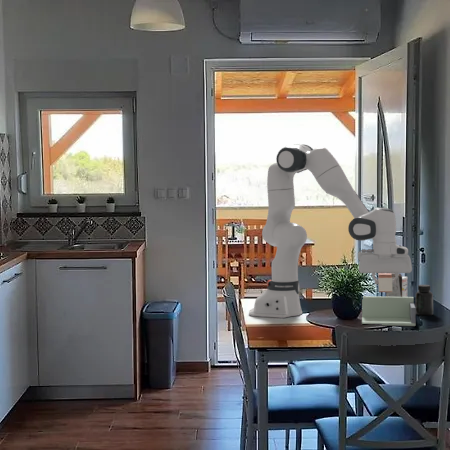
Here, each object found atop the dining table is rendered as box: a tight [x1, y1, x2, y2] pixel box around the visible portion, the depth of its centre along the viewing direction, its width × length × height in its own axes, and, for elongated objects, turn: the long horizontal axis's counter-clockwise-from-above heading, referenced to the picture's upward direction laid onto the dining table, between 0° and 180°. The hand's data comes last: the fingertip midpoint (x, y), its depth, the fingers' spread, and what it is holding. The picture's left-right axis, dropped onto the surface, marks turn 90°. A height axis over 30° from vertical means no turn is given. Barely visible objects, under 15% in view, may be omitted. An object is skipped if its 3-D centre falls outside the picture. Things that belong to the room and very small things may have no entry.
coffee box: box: [385, 273, 403, 297], centre depth 284 cm, size 9×6×16 cm
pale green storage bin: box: [361, 295, 417, 327], centre depth 267 cm, size 20×12×9 cm, turn 78°
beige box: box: [377, 273, 392, 293], centre depth 265 cm, size 5×8×6 cm, turn 168°
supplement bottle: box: [415, 284, 434, 317], centre depth 279 cm, size 7×7×12 cm
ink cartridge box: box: [391, 273, 409, 297], centre depth 303 cm, size 9×5×15 cm, turn 144°
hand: (385, 284), depth 266 cm, fingers closed on beige box, 5 cm apart
